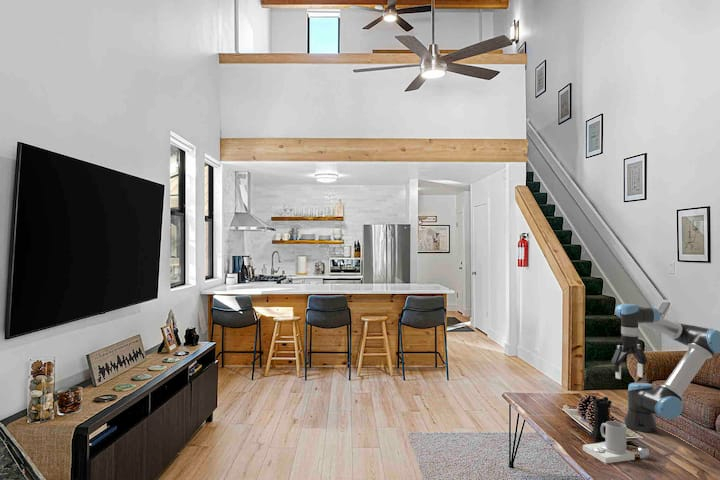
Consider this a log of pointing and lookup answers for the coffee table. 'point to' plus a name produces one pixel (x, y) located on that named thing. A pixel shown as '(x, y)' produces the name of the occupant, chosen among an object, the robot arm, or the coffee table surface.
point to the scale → (607, 453)
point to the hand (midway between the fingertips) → (629, 377)
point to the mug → (614, 436)
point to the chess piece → (600, 417)
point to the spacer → (643, 452)
